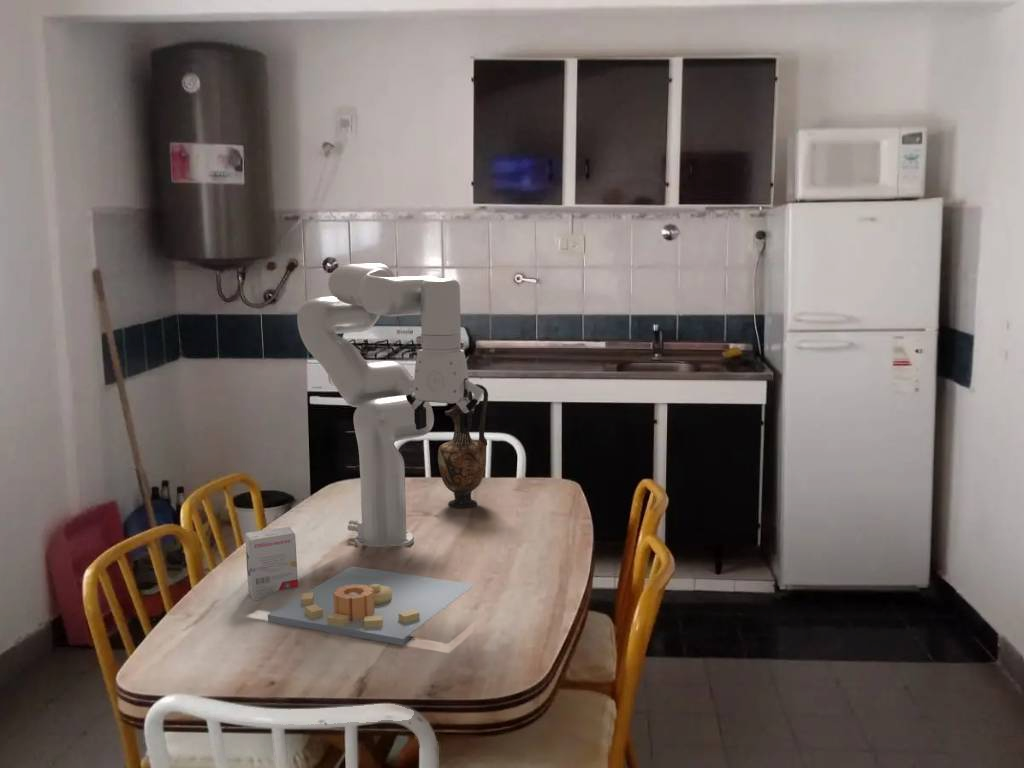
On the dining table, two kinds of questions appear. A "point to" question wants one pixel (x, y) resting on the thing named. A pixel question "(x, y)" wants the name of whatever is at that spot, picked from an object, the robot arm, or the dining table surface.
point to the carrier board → (395, 605)
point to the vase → (463, 458)
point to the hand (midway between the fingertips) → (443, 430)
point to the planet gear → (354, 601)
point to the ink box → (271, 561)
